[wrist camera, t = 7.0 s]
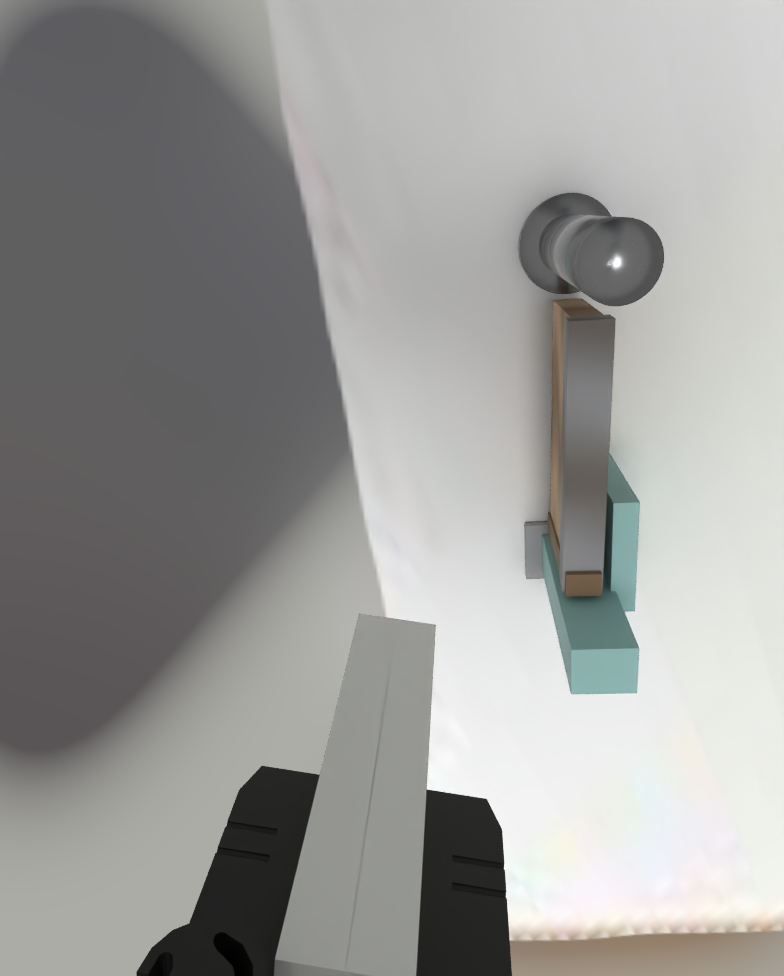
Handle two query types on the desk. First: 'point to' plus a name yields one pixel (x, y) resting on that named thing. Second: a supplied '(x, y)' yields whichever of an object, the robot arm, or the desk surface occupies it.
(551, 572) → the stile
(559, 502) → the gate
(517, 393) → the desk surface
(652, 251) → the hinge post
